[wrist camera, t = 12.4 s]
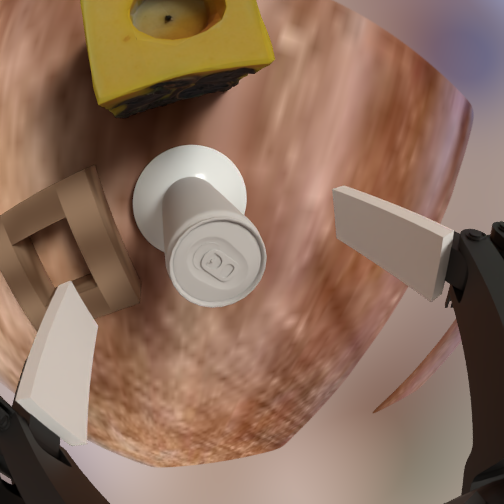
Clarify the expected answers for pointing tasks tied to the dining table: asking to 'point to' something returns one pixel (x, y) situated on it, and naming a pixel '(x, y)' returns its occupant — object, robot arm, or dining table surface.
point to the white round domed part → (174, 168)
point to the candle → (170, 49)
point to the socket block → (87, 237)
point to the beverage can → (209, 245)
